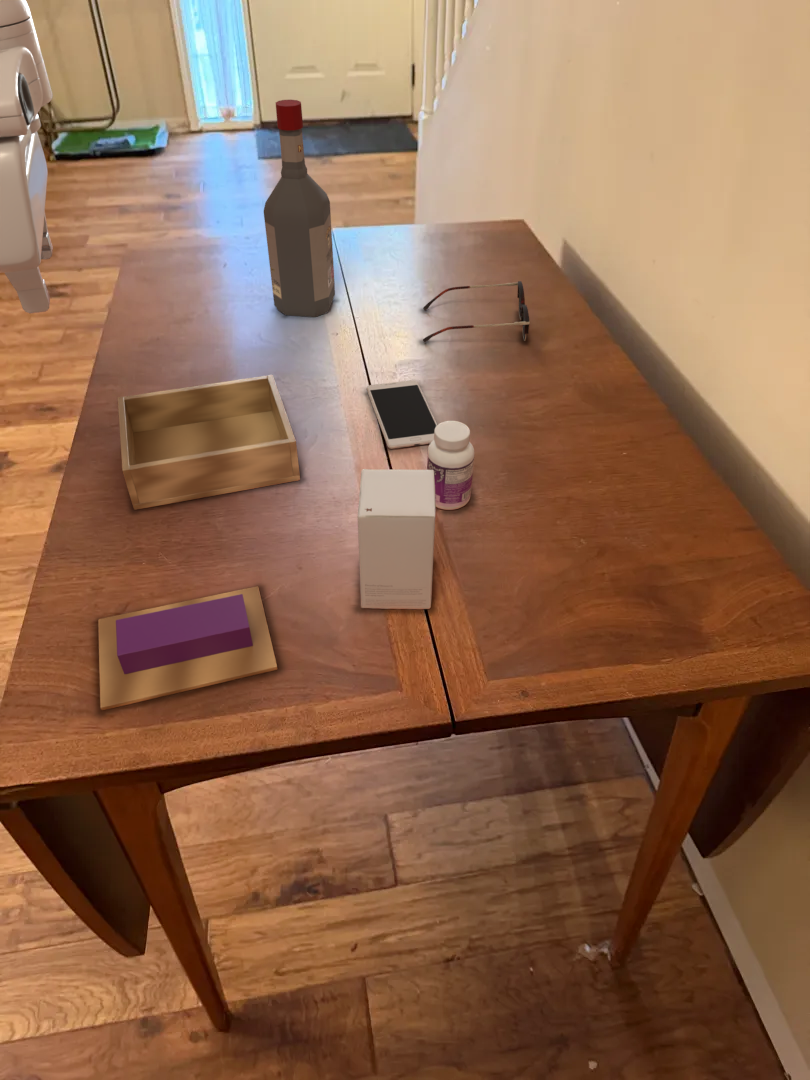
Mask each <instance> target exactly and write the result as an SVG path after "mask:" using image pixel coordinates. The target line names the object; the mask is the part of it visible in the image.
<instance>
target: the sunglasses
mask: <svg viewBox="0 0 810 1080" xmlns="http://www.w3.org/2000/svg"><path fill="white" fill-rule="evenodd" d="M514 286H515V287H516V286H517V296H516V297H517V299H518V316H519V320H520V321H514V322H507V323H490V324H475V325H473V324H469V325H455V326H447V327H445V328H442V329H440V330H438V331H436V332H433V333H431V334H429V335H426V336H425V337H424V338H422V342H423V343H427V342H428V341H430V340H431V339H432V338H433V337H436V336H437V335H440V334H442V333H444V332H446V331H450V330H463V329H464V330H465V329H476V328H491V327H492V328H494V327H505V326H522V337H523V341H524V342H526V341H527V335H529V332H530V331H529V330H530V324H531V322H530V314H529V309H528V306H527V304H526V299H525V289H524V285H523V282H522V281H521V280H518V281H517V282H516V281H515V282H507V283H506V282H505V283H497V284H496V283H493V284H480V285H479V284H478V285H461V286H453V287H449V288H446V289H444V290H442V291H440V293H438V294H437V295H436V296H435V297H433V298H432V299H431V300H430V301H428V302H427V303H426V304H425V305H424V306H423V307H422V309H423V310H424V311H425V312H426V311H427V310H428V309H429V308H430V307H431V305H432V304H433V303H434V302H435V301H437V300H438V299H439V298H440V297H442V296H443V295H444V294H446V293H448V292H450V291H455V290H466V289H479V288H493V287H494V288H495V287H514Z"/></svg>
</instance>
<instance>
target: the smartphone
mask: <svg viewBox="0 0 810 1080" xmlns="http://www.w3.org/2000/svg"><path fill="white" fill-rule="evenodd" d="M366 392H367V394H368V397H369V400H370V403H371V405H372V408H373V410H374V413H375V416H376V419H377V421H378V424H379V427H380V430H381V432H382V436H383V437H384V440H385V441H384V442H385V443H386V446H387V448H388V449H390V450H391V449H399V448H400V449H401V448H407V447H415V446H421V445H428V444H429V445H430V443H431V442H432V441H433V440H434V431H435V427H436V426H437V425H438V424H439V423H438V422H437V420H436V418H435V416H434V413H433V411H432V409H431V407H430V405H429V402H428V400H427V398H426V395H425V393H424V391H423V390H422V388H421V385H420V383H419V381H418V380H416V379H412V380H403V381H395V382H383V383H378V384H377V383H376V384H370V385H367V386H366Z"/></svg>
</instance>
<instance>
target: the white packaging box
mask: <svg viewBox="0 0 810 1080" xmlns="http://www.w3.org/2000/svg"><path fill="white" fill-rule="evenodd" d="M358 493H359V494H358V507H357V535H358V537H357V538H358V563H359V589H360V590H359V591H360V608H361V609H380V610H381V609H383V610H430V609H431V607H432V596H433V595H432V593H433V574H434V573H433V571H434V551H435V533H436V517H437V515H436V512H437V511H436V510H437V507H436V500H435V479H434V470H427V469H401V468H399V469H389V468H388V469H385V468H384V469H381V468H379V469H378V468H377V469H374V468H373V469H372V468H362V469H361V471H360V482H359V492H358Z"/></svg>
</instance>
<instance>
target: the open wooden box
mask: <svg viewBox="0 0 810 1080" xmlns="http://www.w3.org/2000/svg"><path fill="white" fill-rule="evenodd" d="M117 411H118V412H117V413H118V427H119V443H120V458H121V470H122V474H123V478H124V481H125V484H126V488H127V491H128V495H129V498H130V500H131V501H130V502H131V504H132V507H133V510H134V511H136V510H142V509H148V508H153V507H159V506H164V505H170V504H175V503H181V502H187V501H191V500H198V499H202V498H203V499H204V498H208V497H215V496H219V495H225V494H226V495H227V494H230V493H236V492H242V491H248V490H253V489H259V488H265V487H270V486H275V485H281V484H286V483H291V482H297V481H300V480H301V476H300V473H301V472H300V466H299V465H300V464H299V455H298V446H297V440H296V437H295V434H294V431H293V429H292V426H291V423H290V420H289V417H288V415H287V411H286V409H285V406H284V403H283V400H282V397H281V394H280V392H279V388H278V385H277V383H276V380H275V377H274V374H267V375H261V376H253V377H247V378H246V377H245V378H240V379H233V380H227V381H219V382H213V383H206V384H200V385H193V386H186V387H179V388H173V389H172V388H171V389H166V390H159V391H153V392H145V393H138V394H133V395H125V396H120V397H118V396H117Z"/></svg>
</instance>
